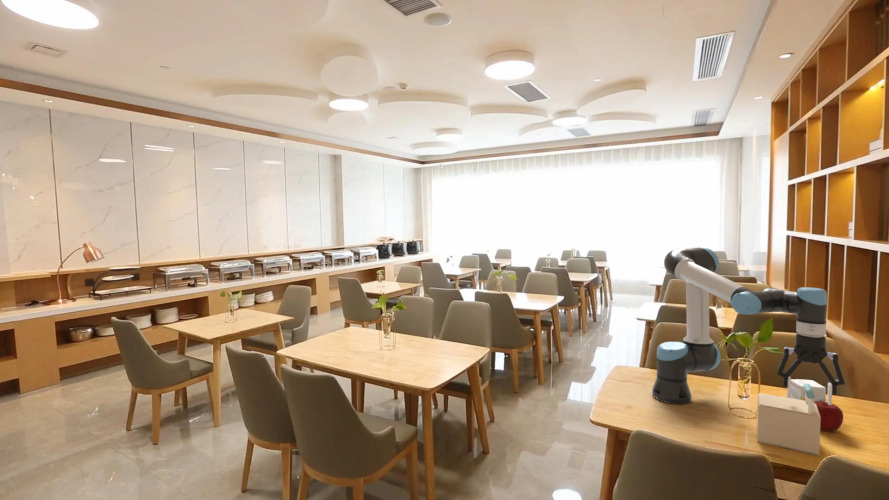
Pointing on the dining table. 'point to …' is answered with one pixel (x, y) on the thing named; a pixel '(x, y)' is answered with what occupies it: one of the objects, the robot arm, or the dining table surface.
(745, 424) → the dining table surface
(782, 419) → the carton
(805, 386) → the flap
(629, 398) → the dining table surface
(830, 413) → the apple
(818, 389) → the ink box
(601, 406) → the dining table surface
